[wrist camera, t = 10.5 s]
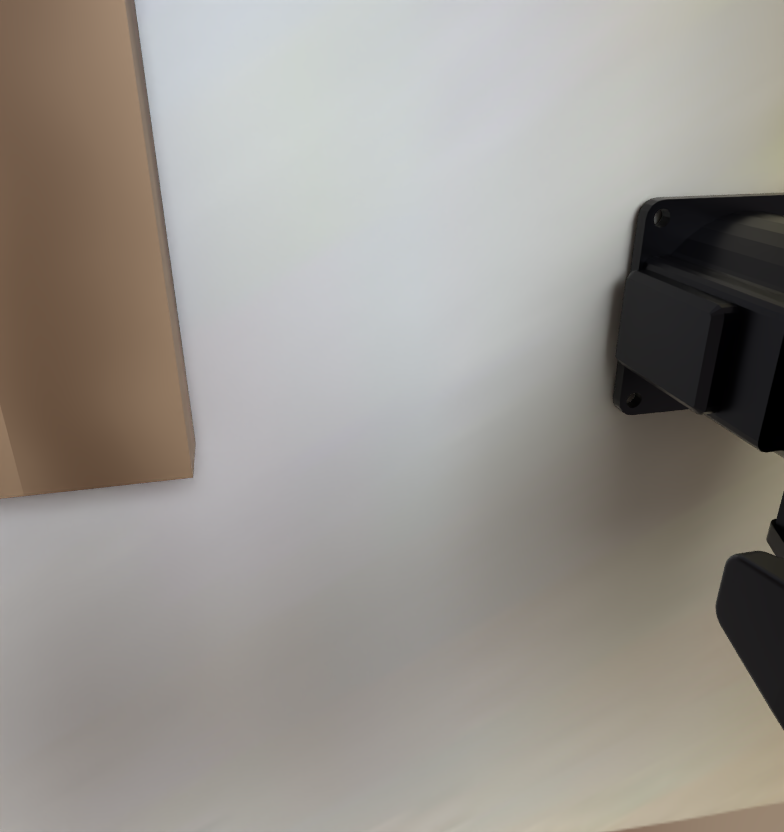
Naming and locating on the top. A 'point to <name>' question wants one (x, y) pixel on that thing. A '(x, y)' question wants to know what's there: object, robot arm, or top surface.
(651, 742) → the top surface
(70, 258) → the brown square frame
